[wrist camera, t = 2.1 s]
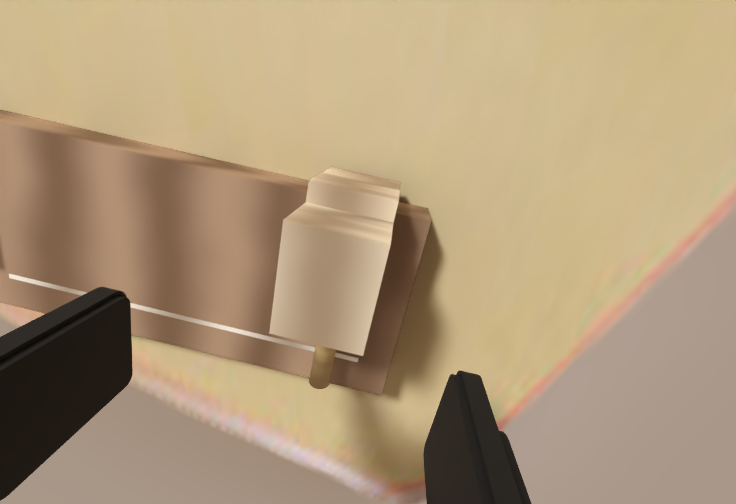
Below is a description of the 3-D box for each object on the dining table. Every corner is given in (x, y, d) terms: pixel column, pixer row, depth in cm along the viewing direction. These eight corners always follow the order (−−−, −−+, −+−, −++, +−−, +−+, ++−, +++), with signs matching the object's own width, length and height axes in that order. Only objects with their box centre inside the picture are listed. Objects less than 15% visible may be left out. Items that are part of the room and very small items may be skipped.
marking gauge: (400, 182, 20) (397, 218, 12) (359, 353, 24) (337, 457, 16) (331, 166, 20) (286, 192, 12) (303, 339, 24) (256, 437, 16)
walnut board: (427, 208, 21) (433, 229, 17) (383, 365, 25) (379, 413, 21) (-11, 107, 22) (-112, 103, 17) (19, 277, 26) (-55, 306, 22)
